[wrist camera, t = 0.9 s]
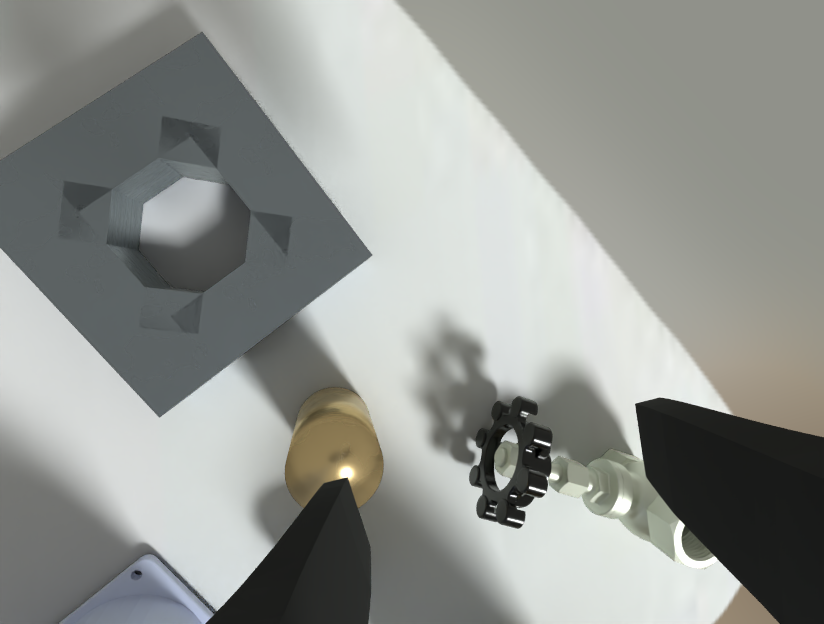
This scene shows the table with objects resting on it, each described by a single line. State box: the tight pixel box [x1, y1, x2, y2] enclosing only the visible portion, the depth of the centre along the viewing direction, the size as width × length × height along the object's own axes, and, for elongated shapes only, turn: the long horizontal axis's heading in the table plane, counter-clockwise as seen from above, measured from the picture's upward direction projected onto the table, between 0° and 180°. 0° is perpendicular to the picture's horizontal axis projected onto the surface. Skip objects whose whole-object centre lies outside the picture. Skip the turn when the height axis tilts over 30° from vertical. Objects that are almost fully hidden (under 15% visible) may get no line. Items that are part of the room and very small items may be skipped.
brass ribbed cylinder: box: [285, 387, 384, 508], centre depth 20 cm, size 4×4×6 cm
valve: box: [469, 396, 718, 569], centre depth 23 cm, size 7×7×12 cm
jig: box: [0, 32, 372, 418], centre depth 20 cm, size 12×12×3 cm
